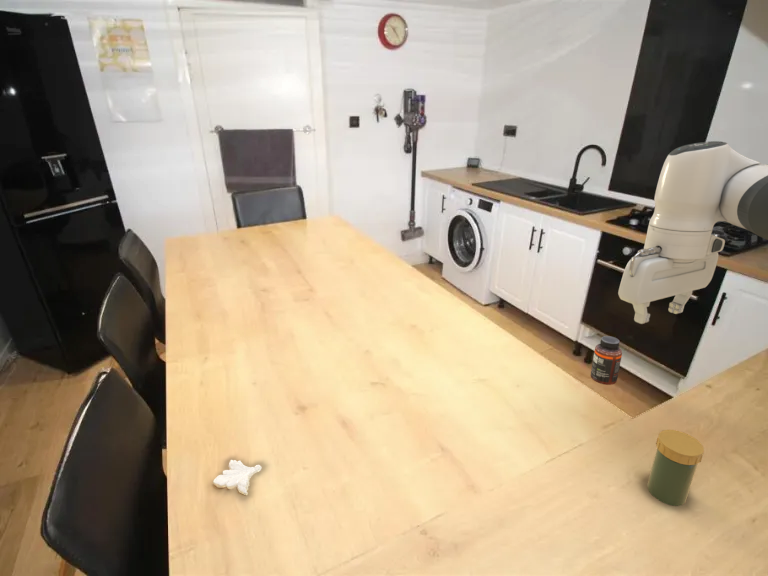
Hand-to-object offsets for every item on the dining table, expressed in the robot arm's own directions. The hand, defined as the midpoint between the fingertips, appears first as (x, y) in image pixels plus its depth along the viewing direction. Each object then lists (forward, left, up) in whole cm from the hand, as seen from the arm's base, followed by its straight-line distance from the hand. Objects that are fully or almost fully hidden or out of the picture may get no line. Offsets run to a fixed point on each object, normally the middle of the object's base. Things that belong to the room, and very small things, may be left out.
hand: (658, 317), depth 74 cm
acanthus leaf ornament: (+50, +60, -27) cm, 82 cm away
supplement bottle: (+11, -18, -27) cm, 34 cm away
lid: (-8, +12, -16) cm, 22 cm away
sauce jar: (-8, +12, -27) cm, 30 cm away
